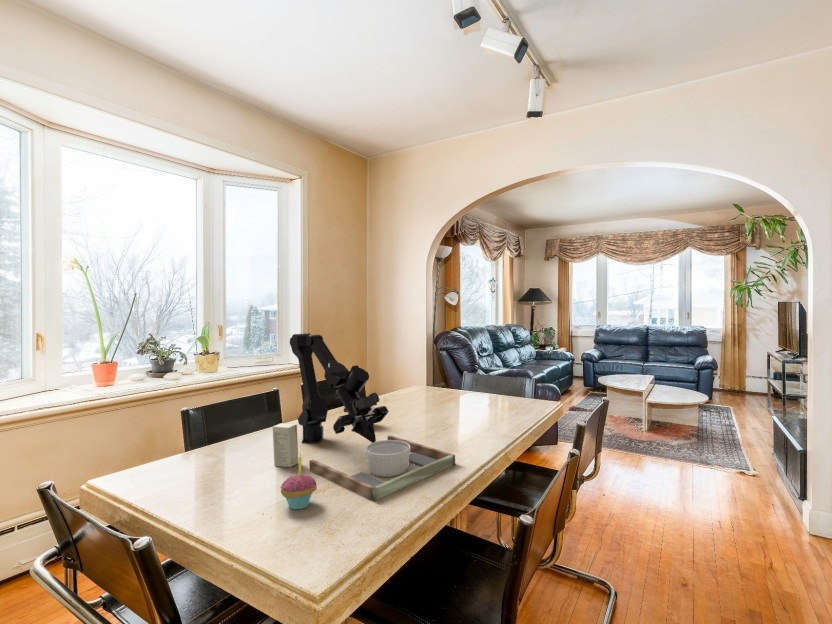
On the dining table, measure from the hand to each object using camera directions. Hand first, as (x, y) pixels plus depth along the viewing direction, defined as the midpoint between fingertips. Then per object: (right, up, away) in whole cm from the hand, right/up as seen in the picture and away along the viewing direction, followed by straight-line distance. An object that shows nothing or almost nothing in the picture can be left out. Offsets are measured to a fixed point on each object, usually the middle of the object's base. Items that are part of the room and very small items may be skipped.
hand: (374, 441), depth 130 cm
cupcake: (-16, -8, -26) cm, 31 cm away
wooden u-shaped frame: (+3, -7, -3) cm, 8 cm away
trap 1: (-2, -7, -14) cm, 15 cm away
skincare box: (-27, -7, +1) cm, 28 cm away
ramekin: (+5, -7, -4) cm, 10 cm away
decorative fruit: (-7, -6, +41) cm, 42 cm away
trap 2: (+14, -7, +2) cm, 15 cm away
